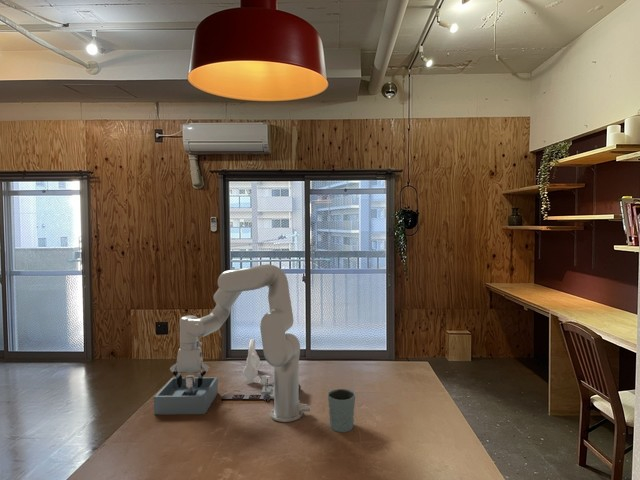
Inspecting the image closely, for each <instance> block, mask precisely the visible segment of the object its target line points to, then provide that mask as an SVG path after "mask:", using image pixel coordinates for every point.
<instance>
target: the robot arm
mask: <svg viewBox="0 0 640 480" xmlns="http://www.w3.org/2000/svg"><path fill="white" fill-rule="evenodd" d="M217 286H218V288H217V290H216V291H215V293H214V294H213V301H214V302H215V303H216V304H215V306H214V308H213V309H212V311H211V312H210V313H209V314H207V315H205V316H202V317H200V318H198V316H196V315H192V314H191V315H184V316H182V317H180V319H179V348H178V351H177V356H176V363H175V364H173V365H171V366H170V368H169V370H170V372H171V373H172V375H174V377H176V378H177V385H178V388H180V387H181V386H182V377H183V376H182V374H196V375H197V377H199V378H198V388H200V386H201V385H202V384H203V377H205V375H206V374H207V373H208V371H209V369H210V366H209V365H207V364H206V363H204V362H203V361H204V360H203V359H204V358H203V352H202V348H201V347H202V345H203V342H200V340H199V338H203V337H206V336H208V335H210V334H212V333H214V332H217V331H218V330H219V329H220V328H221V327H222V326H223V324H225V322H226V321H227V319H228V318H229V317H230V314H231V311H232V306H233V305H234V304H235V302H236V301H237V300H238V298H239V296H240V295H241V294H242V292H247V291H254V290H259V289H262V288H265V287H267V288H268V292H267V293H268V296H267V301H268V306H269V311H268V312H266V313H265V314H264V315H263V316H262V317H261V320H260V325H259V330H260V335H261V345H262V350H263V355H264V358H265V361H266V363H268V365H269V366H271V367H273V387H274V398H273V400H274V401H273V403H274V404H273V405H274V406H273V408H272V409H271V410H270V412H269V415H270V418H271V419H272V420H274V421H276V422H279V423H281V422H282V423H290V422H295V421H297V420H299V419H300V418H301V417H302V416H303V412H311V406H310V405H308V403H304V404H303V403H300V401H301V400H300V399H299V396H300V395H299V394H300V393H299V391H300V390H299V384H300V383H299V384H298V376H300V375H299V367H300V366H299V364H300V353H301V344H300V340H299V339H298V337H297V336H296V335H295V334H293V333H286V332H287V331H288V330H290V329H291V328H292V327H293V324H294V313H293V308H292V301H291V296H290V295H291V294H290V286H289V280H288V278H287V275H286V273H285V272H284V271H283V270H282V269H281V268H280V267H278V266H276V265H274V264H268V263H267V264H260V265H256V266H253V267H247V268H233V269H229V270H225V271H223V272H222V273H221V274H220V275H219V276H218V278H217ZM202 369H204V370H202Z"/></svg>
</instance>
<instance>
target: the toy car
mask: <svg viewBox="0 0 640 480" xmlns="http://www.w3.org/2000/svg"><path fill="white" fill-rule="evenodd" d="M299 376H300V375H298V384H299V391H300V390H301V388H302V385H301V384H300V383H299V382H300V381H299ZM258 377H259V380H258V383H260V384H265V385H264V386H262V389H261V392H260V393H261V394H260V395H263V397H262V399H263V401H264V400H265V401H264V402H269V401H271V399H274V384H272V383H269V380H270V378H271V376H270V375H265V374H264V375H262V376H260V375H258ZM266 399H267V401H266ZM300 399H301V398H300V395H299V400H300Z"/></svg>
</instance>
